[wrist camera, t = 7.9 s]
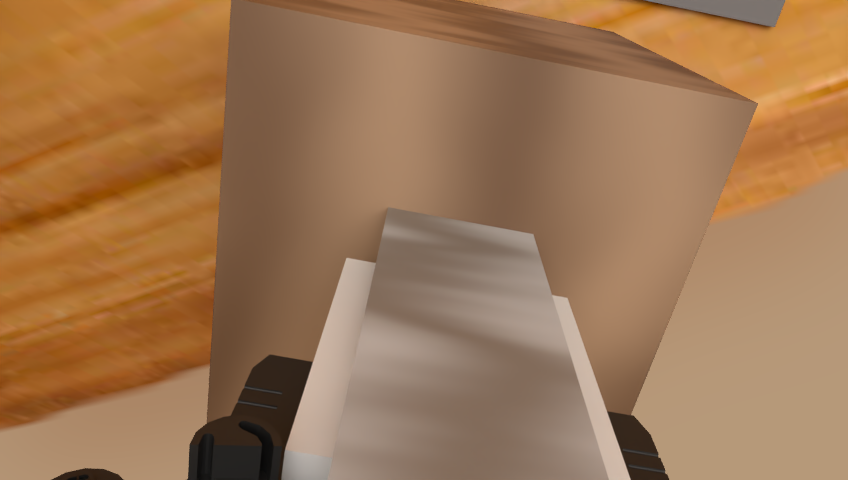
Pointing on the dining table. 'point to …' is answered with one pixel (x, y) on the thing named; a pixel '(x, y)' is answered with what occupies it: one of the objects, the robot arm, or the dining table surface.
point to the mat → (734, 9)
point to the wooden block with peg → (459, 222)
